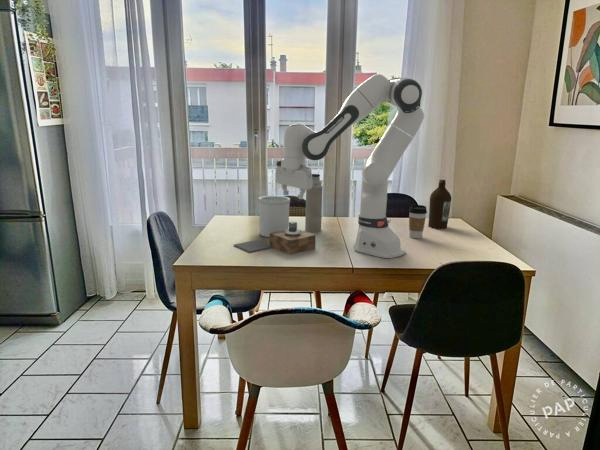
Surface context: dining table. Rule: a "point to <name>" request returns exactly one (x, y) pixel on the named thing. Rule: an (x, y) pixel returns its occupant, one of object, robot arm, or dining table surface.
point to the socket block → (292, 242)
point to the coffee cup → (417, 220)
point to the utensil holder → (273, 214)
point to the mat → (253, 246)
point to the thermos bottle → (314, 205)
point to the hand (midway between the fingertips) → (293, 196)
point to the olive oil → (439, 207)
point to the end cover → (292, 229)
